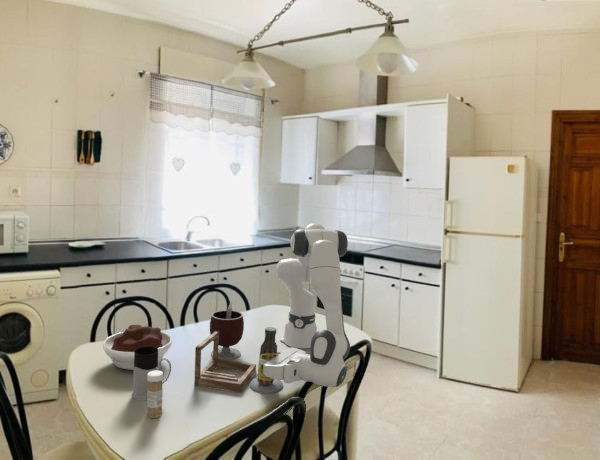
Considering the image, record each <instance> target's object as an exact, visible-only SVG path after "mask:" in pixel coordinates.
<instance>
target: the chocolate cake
mask: <svg viewBox="0 0 600 460" xmlns="http://www.w3.org/2000/svg"><path fill="white" fill-rule="evenodd" d="M172 344H173V339H172V337H171V336H170V335H169V333H166V332H164V331H162V329H161V328H160V327H158V326H157V327H151V326H147V325H145V326H142V325H141V324H130V325H129V326H128V328H125V330H124V331H122V332H118V333H115V334H112V335H110V336H108V337H107V338H106V339H104V341H103V343H102V350H103V351H104V353H105V355H106V356H107V357H108V358H110V359H111V361H112V363H113V365H114V366H115V367H117V368H120V369H123V370H127V371H128V370H131V371H134V351H135V350H136V349H138V348H141V347H155V348H157V349H158V364H159V362H160V360H161V359H163V358H164V356H165V355H166V353H167V352H168V351H169V350H170V348H171V347H172Z"/></svg>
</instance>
